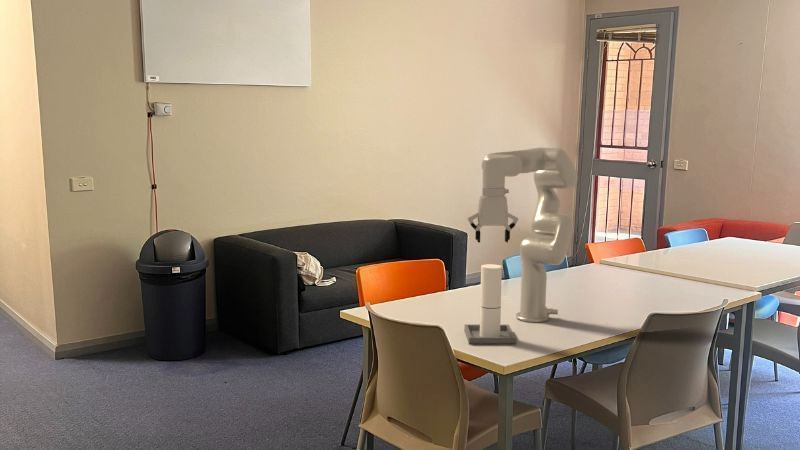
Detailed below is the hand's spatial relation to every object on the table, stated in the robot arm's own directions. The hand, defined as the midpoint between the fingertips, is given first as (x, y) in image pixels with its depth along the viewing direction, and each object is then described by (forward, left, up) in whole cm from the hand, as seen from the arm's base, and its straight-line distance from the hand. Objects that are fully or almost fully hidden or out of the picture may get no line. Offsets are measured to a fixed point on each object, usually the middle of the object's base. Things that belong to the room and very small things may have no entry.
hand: (492, 241), depth 259 cm
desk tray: (0, 0, -34) cm, 34 cm away
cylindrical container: (0, 0, -34) cm, 34 cm away
